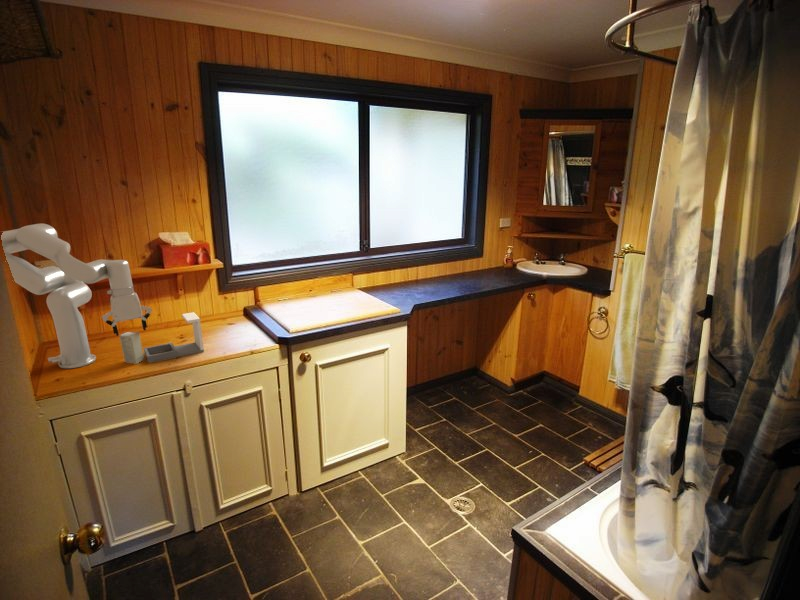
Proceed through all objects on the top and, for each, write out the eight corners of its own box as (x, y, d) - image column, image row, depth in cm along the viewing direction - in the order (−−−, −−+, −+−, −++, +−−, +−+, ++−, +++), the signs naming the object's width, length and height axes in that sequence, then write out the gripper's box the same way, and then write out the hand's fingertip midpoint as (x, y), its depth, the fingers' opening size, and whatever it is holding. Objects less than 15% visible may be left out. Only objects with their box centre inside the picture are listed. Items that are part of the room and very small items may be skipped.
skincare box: (144, 360, 188) (140, 332, 185) (136, 364, 184) (131, 336, 181) (132, 358, 190) (127, 331, 186) (123, 362, 186) (118, 334, 182)
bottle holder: (148, 363, 185) (142, 328, 181) (144, 354, 194) (139, 321, 190) (204, 351, 197) (199, 318, 193) (198, 343, 206) (194, 312, 202)
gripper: (97, 297, 171) (106, 339, 176) (148, 289, 180) (156, 330, 185) (96, 293, 177) (105, 334, 182) (146, 286, 186) (153, 325, 191)
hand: (131, 332), depth 183 cm, fingers open, 9 cm apart
